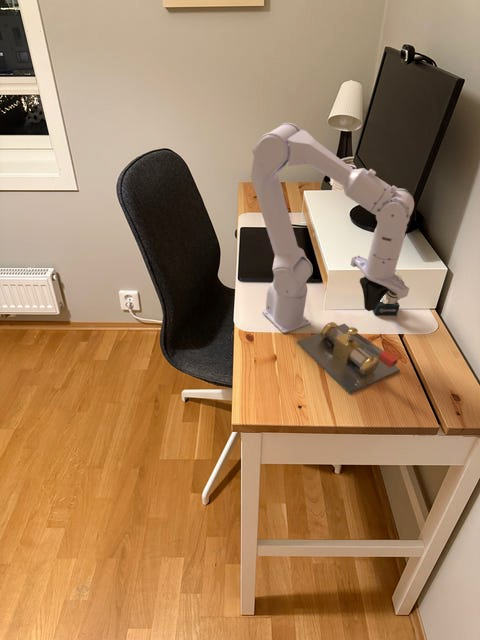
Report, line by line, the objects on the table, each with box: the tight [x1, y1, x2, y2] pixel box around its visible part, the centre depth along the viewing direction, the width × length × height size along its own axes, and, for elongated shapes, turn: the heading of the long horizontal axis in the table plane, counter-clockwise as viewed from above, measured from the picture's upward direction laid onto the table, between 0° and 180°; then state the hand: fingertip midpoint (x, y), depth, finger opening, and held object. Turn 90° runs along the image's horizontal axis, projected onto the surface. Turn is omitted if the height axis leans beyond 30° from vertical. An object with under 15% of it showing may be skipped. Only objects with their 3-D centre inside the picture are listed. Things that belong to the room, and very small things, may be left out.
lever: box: [348, 327, 399, 368], centre depth 93 cm, size 12×2×2 cm, turn 38°
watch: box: [371, 272, 406, 317], centre depth 111 cm, size 6×8×11 cm
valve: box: [296, 321, 401, 395], centre depth 99 cm, size 18×14×5 cm
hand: (369, 308), depth 98 cm, fingers closed
